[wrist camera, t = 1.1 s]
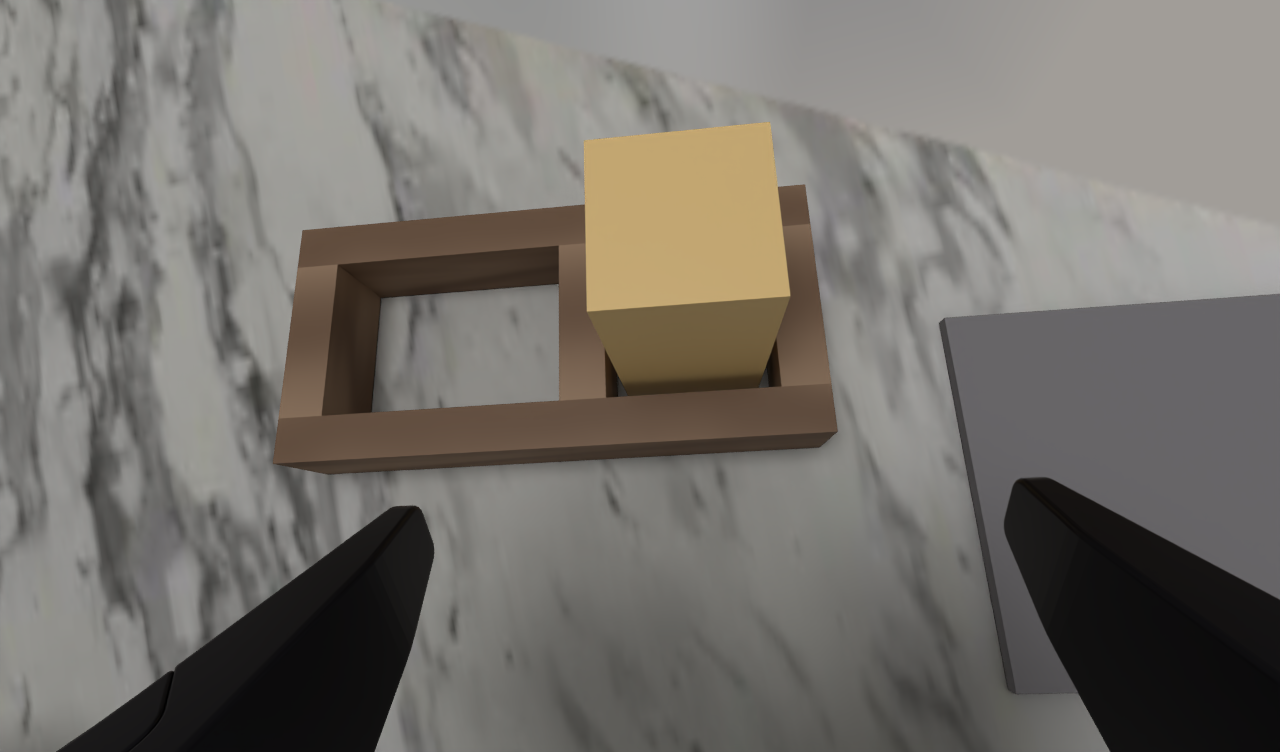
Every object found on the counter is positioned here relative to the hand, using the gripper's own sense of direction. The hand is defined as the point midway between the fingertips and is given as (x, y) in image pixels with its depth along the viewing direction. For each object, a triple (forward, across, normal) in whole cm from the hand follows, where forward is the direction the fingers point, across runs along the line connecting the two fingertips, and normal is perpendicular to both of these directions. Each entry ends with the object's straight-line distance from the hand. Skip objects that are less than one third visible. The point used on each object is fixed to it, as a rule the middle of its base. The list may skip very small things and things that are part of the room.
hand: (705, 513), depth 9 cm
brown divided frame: (+13, +5, +4) cm, 15 cm away
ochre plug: (+13, 0, +4) cm, 14 cm away
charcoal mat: (+9, -15, +8) cm, 19 cm away
